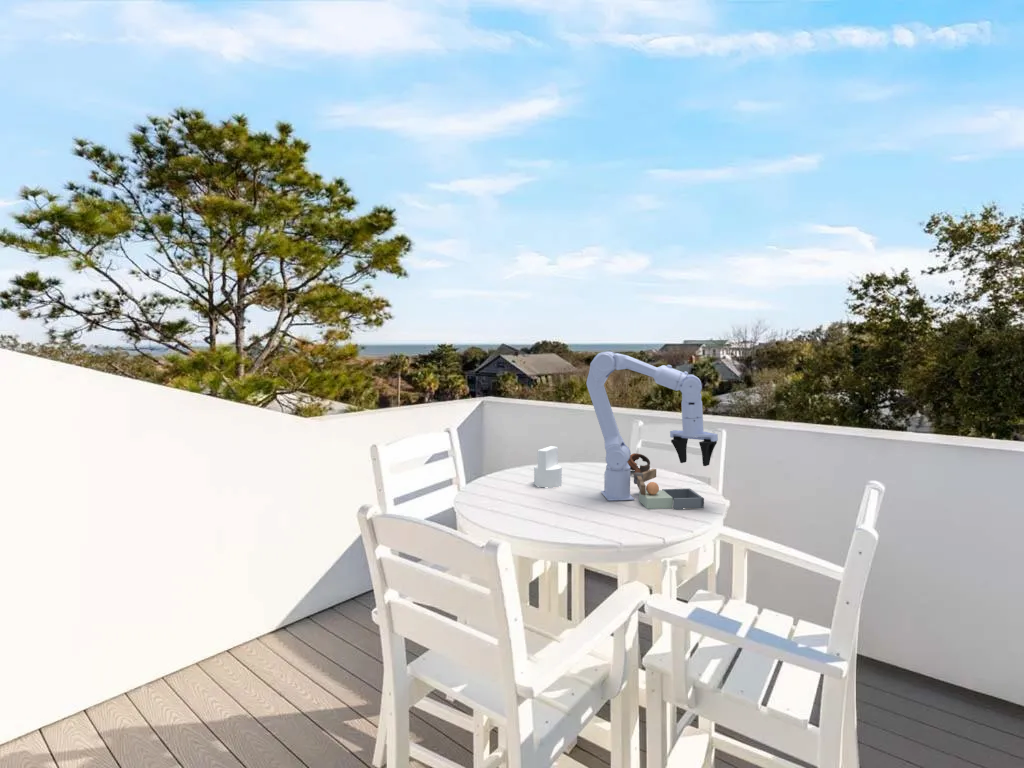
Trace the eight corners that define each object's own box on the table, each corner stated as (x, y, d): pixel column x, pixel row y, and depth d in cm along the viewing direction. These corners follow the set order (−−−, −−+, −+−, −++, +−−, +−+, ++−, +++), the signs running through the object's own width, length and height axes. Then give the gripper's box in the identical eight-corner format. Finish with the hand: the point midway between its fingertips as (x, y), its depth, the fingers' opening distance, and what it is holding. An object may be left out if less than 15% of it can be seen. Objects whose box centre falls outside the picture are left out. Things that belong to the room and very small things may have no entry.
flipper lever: (639, 475, 192) (639, 466, 192) (656, 476, 190) (656, 467, 190) (626, 493, 171) (626, 483, 171) (645, 495, 169) (645, 484, 169)
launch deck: (639, 500, 175) (639, 490, 175) (663, 500, 176) (663, 490, 175) (647, 508, 167) (647, 498, 167) (672, 508, 168) (672, 497, 167)
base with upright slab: (553, 489, 189) (553, 452, 188) (529, 485, 193) (529, 449, 192) (566, 483, 196) (566, 447, 195) (542, 480, 201) (542, 445, 200)
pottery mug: (644, 471, 214) (651, 454, 210) (645, 489, 206) (653, 471, 202) (611, 463, 214) (618, 445, 210) (611, 480, 206) (619, 462, 202)
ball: (644, 492, 173) (644, 480, 172) (656, 492, 173) (656, 480, 173) (648, 496, 169) (648, 483, 169) (660, 495, 169) (660, 483, 169)
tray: (661, 499, 177) (662, 489, 177) (689, 498, 178) (689, 488, 177) (674, 509, 166) (674, 499, 166) (703, 508, 167) (703, 498, 167)
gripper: (722, 416, 168) (725, 464, 168) (679, 414, 179) (681, 458, 180) (708, 420, 163) (711, 468, 164) (664, 417, 174) (667, 462, 175)
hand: (694, 463), depth 172 cm, fingers open, 7 cm apart
